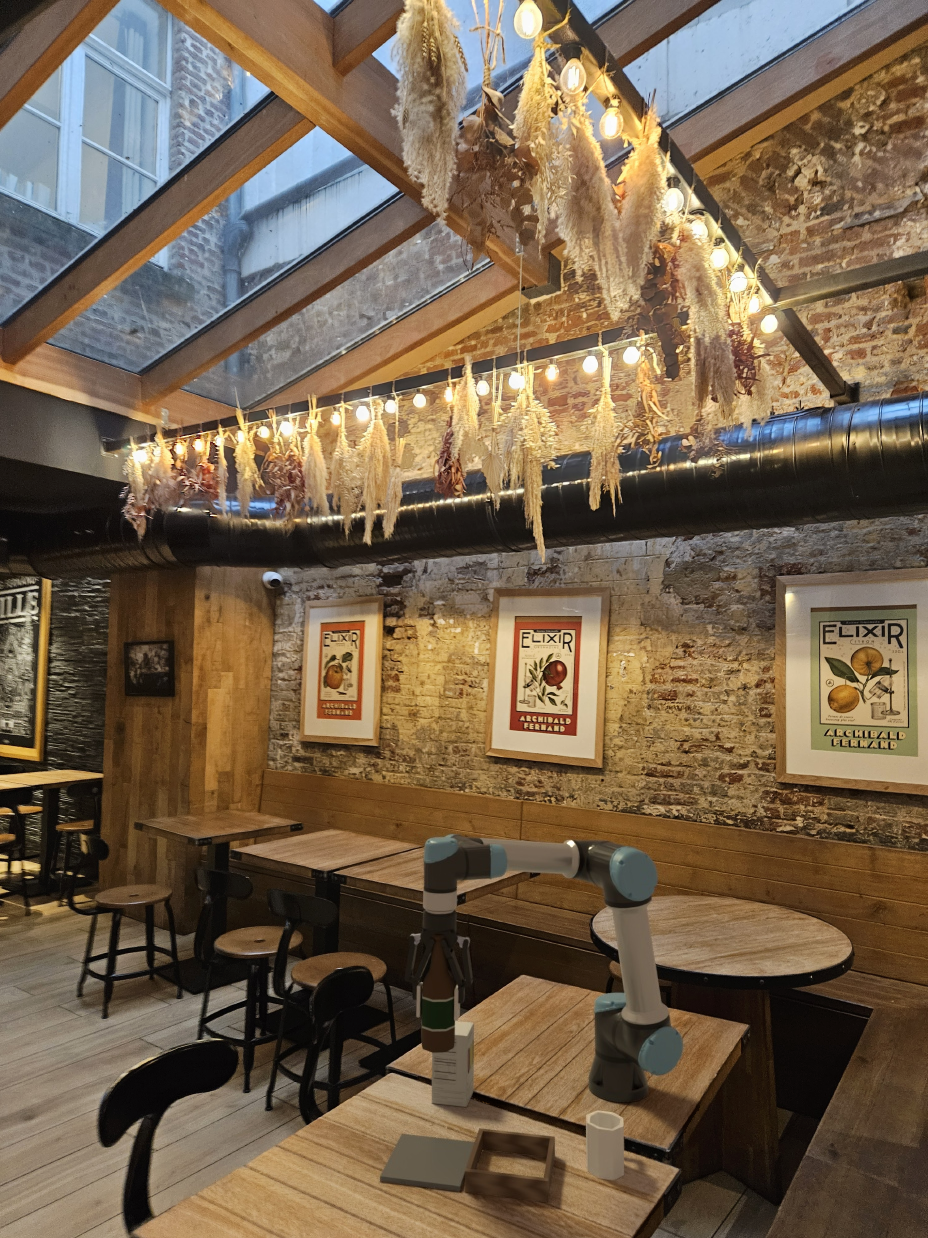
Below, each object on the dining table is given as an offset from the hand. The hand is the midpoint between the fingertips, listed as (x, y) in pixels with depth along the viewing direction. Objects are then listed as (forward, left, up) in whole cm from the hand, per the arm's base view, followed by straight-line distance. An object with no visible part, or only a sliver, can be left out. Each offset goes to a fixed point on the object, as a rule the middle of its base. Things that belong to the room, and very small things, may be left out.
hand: (438, 1016), depth 177 cm
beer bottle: (0, 0, -6) cm, 6 cm away
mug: (-37, -8, -31) cm, 48 cm away
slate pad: (+2, 0, -31) cm, 31 cm away
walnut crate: (-16, 0, -31) cm, 35 cm away
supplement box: (+3, -30, -31) cm, 43 cm away
